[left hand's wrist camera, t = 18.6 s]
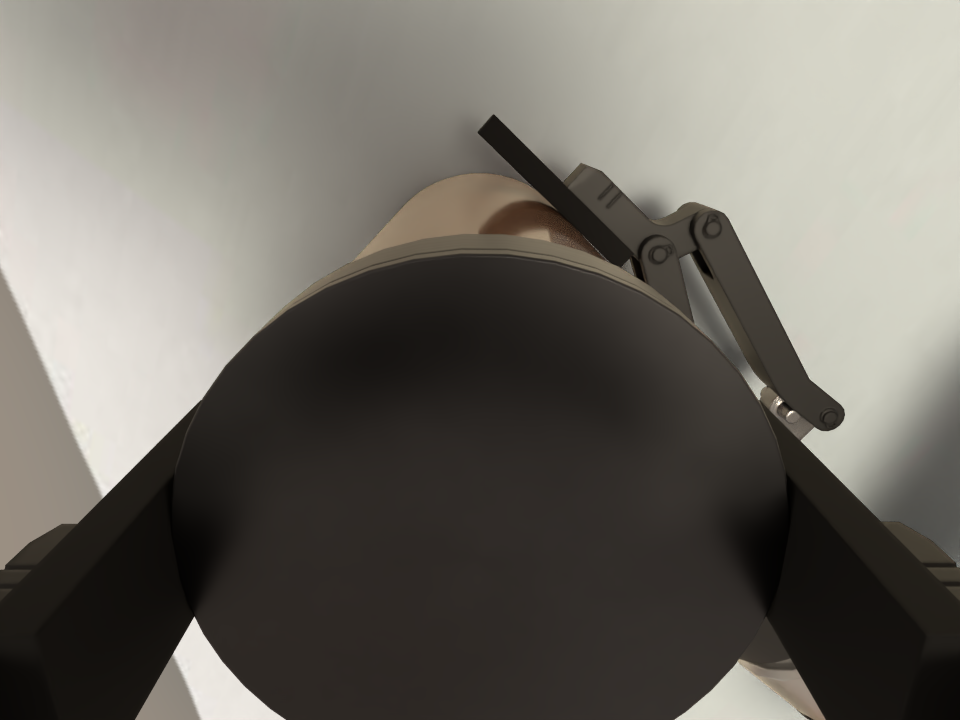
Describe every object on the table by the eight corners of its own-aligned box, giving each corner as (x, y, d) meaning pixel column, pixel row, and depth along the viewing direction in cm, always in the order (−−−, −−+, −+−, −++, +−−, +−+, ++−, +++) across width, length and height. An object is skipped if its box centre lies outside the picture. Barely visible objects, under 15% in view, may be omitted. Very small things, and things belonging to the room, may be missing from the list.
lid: (123, 557, 13) (70, 622, 11) (394, 103, 10) (376, 100, 8) (537, 767, 15) (545, 849, 13) (863, 437, 12) (924, 488, 10)
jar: (614, 213, 29) (843, 367, 11) (540, 400, 32) (621, 766, 14) (409, 142, 28) (277, 179, 10) (353, 342, 31) (172, 655, 13)
